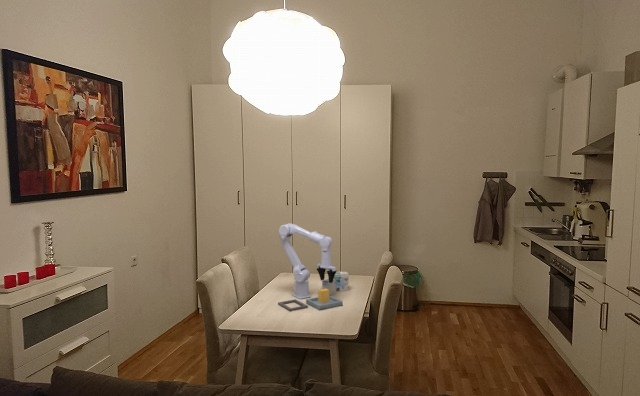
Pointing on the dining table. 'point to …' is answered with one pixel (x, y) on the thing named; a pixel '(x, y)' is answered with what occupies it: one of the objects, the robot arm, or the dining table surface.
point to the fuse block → (323, 296)
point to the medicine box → (329, 286)
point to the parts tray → (332, 303)
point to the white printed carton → (341, 281)
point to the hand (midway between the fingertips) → (326, 281)
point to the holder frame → (302, 306)
